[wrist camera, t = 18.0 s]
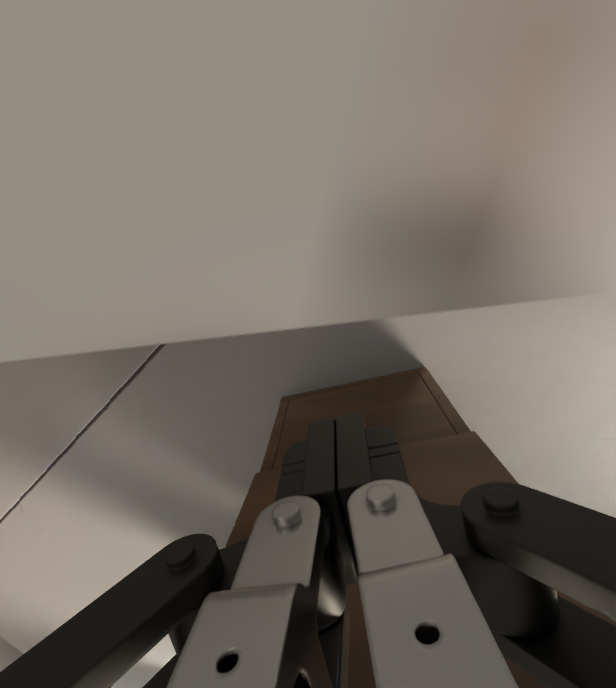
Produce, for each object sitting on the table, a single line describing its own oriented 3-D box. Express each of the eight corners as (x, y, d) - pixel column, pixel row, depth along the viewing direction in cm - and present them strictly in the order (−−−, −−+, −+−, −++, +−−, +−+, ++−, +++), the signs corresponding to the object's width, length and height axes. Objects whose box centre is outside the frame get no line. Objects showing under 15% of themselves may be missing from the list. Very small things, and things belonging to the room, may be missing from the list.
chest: (452, 514, 39) (506, 636, 27) (320, 536, 40) (315, 663, 29) (425, 366, 36) (473, 433, 24) (281, 397, 37) (258, 475, 25)
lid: (730, 761, 8) (726, 728, 8) (132, 823, 10) (122, 795, 10) (477, 444, 23) (474, 430, 23) (258, 485, 25) (255, 473, 25)
